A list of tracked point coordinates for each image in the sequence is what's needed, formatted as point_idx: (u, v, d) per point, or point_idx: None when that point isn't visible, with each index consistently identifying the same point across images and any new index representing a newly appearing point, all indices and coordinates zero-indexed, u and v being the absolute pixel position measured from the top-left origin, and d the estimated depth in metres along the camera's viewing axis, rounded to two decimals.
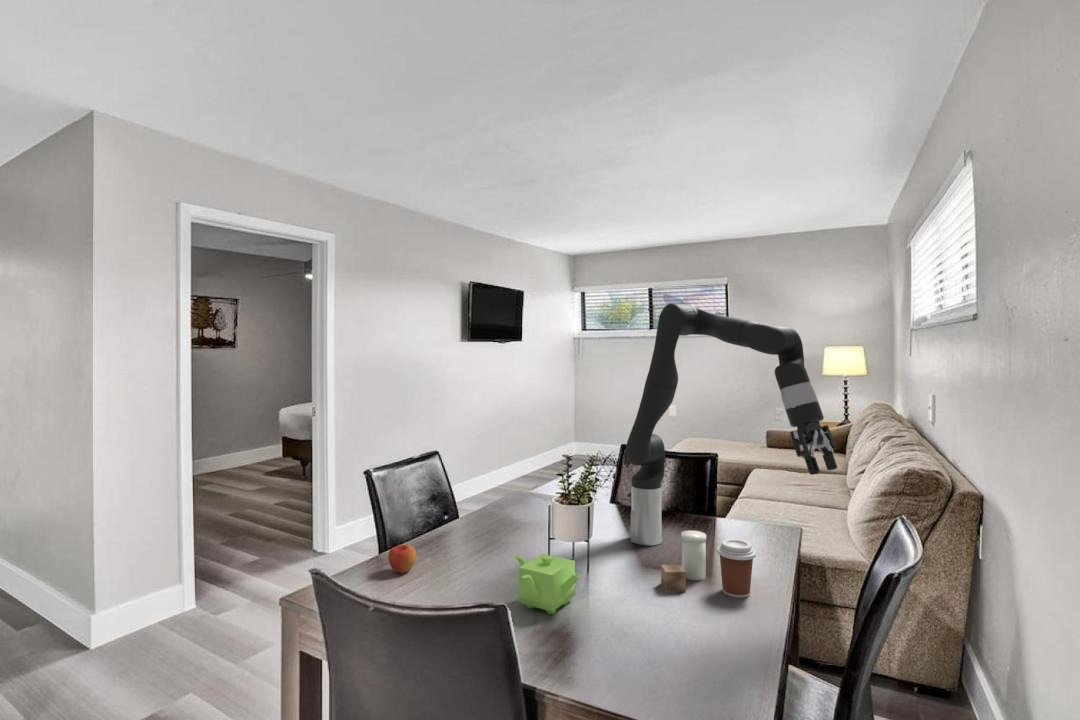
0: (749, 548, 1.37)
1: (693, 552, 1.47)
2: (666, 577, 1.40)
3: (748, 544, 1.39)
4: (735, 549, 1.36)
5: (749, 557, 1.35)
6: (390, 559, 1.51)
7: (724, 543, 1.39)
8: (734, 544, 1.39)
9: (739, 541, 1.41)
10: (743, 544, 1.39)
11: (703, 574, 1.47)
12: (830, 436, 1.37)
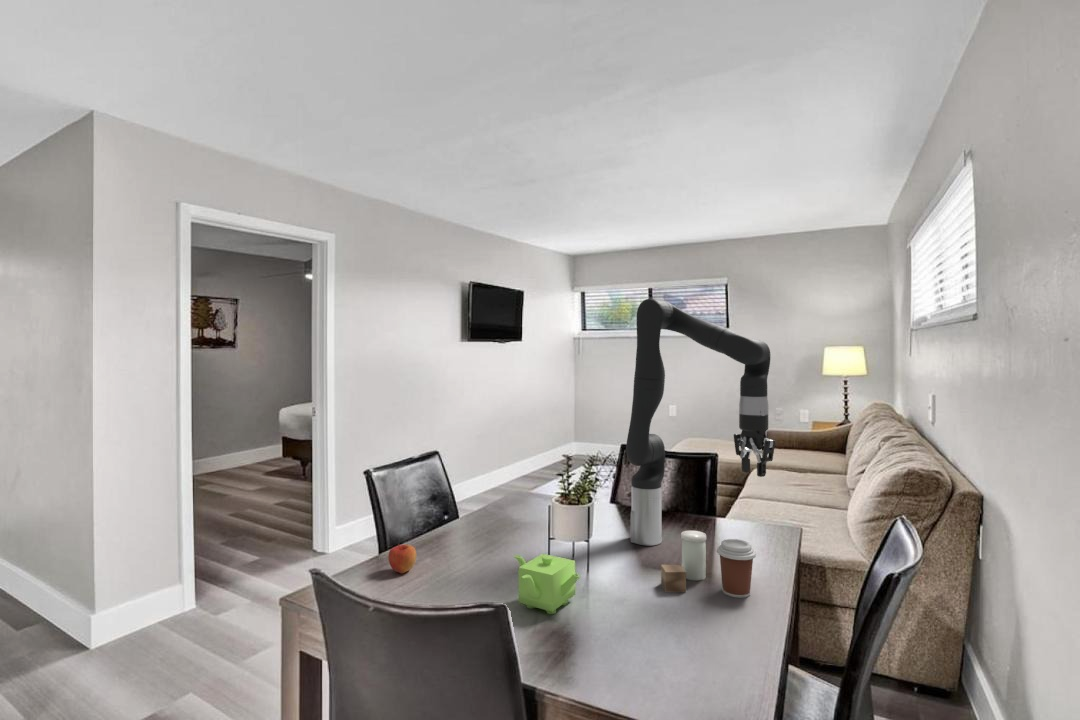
0: (749, 548, 1.37)
1: (693, 552, 1.47)
2: (666, 577, 1.40)
3: (748, 544, 1.39)
4: (735, 549, 1.36)
5: (749, 557, 1.35)
6: (390, 559, 1.51)
7: (724, 543, 1.39)
8: (734, 544, 1.39)
9: (739, 541, 1.41)
10: (743, 544, 1.39)
11: (703, 574, 1.47)
12: None
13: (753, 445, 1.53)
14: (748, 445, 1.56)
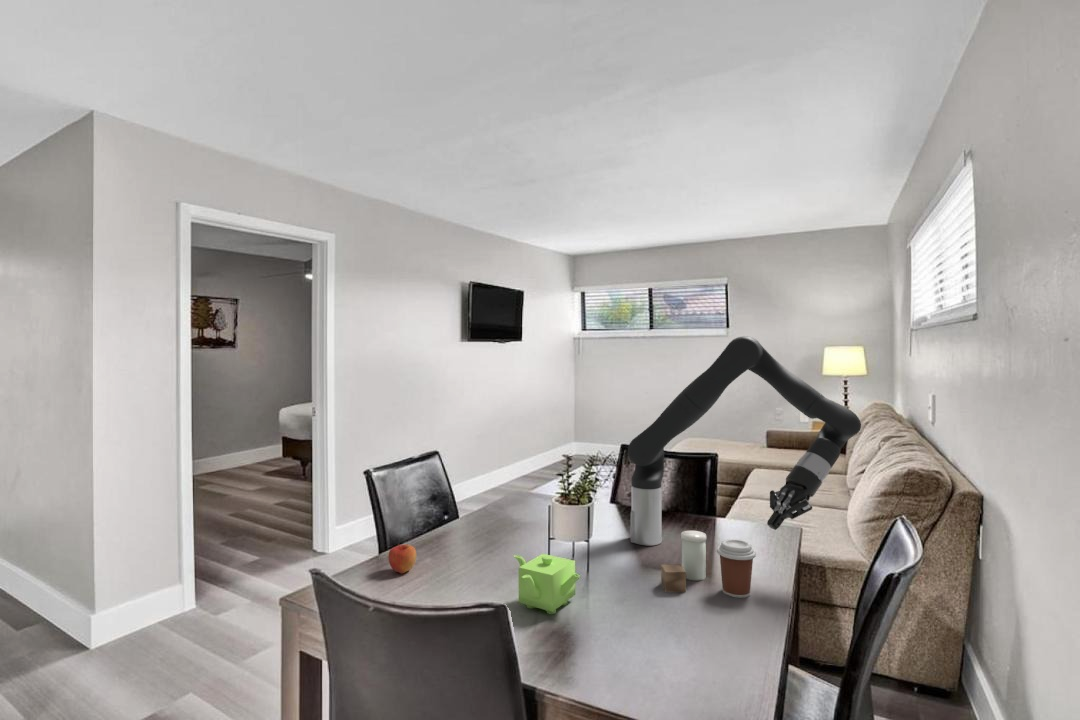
0: (749, 548, 1.37)
1: (693, 552, 1.47)
2: (666, 577, 1.40)
3: (748, 544, 1.39)
4: (735, 549, 1.36)
5: (749, 557, 1.35)
6: (390, 559, 1.51)
7: (724, 543, 1.39)
8: (734, 544, 1.39)
9: (739, 541, 1.41)
10: (743, 544, 1.39)
11: (703, 574, 1.47)
12: None
13: (789, 497, 1.43)
14: (784, 498, 1.45)
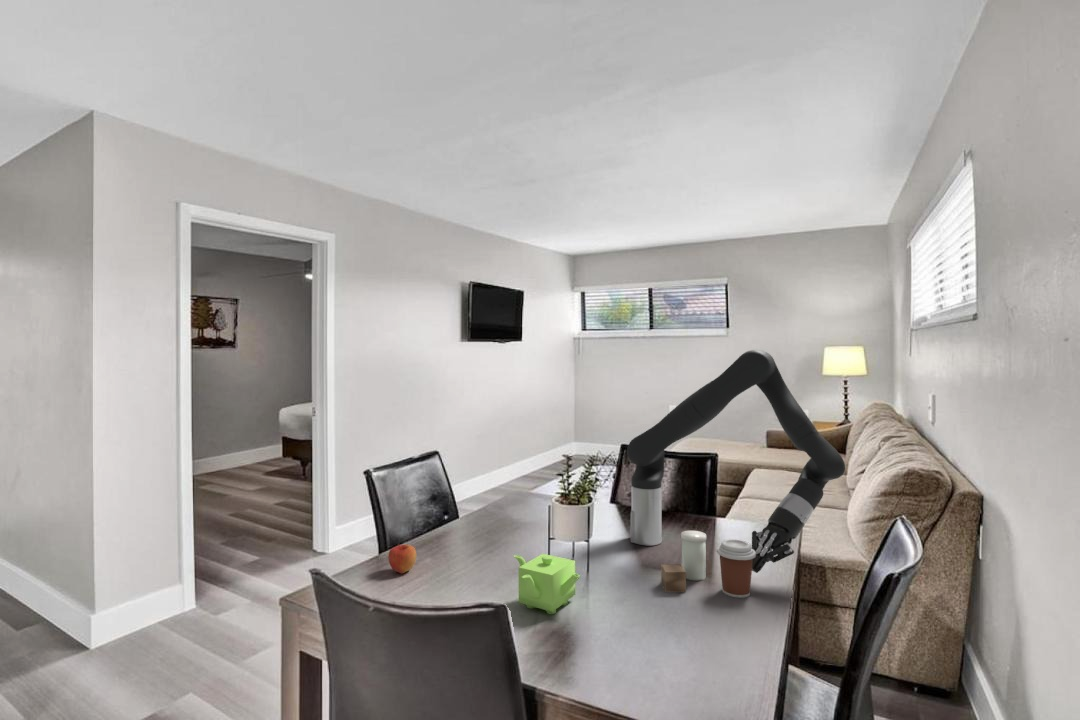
0: (749, 548, 1.37)
1: (693, 552, 1.47)
2: (666, 577, 1.40)
3: (748, 544, 1.38)
4: (735, 549, 1.36)
5: (749, 557, 1.35)
6: (390, 559, 1.51)
7: (724, 543, 1.39)
8: (734, 544, 1.39)
9: (739, 541, 1.41)
10: (743, 544, 1.39)
11: (703, 574, 1.47)
12: None
13: (771, 540, 1.42)
14: (766, 540, 1.44)
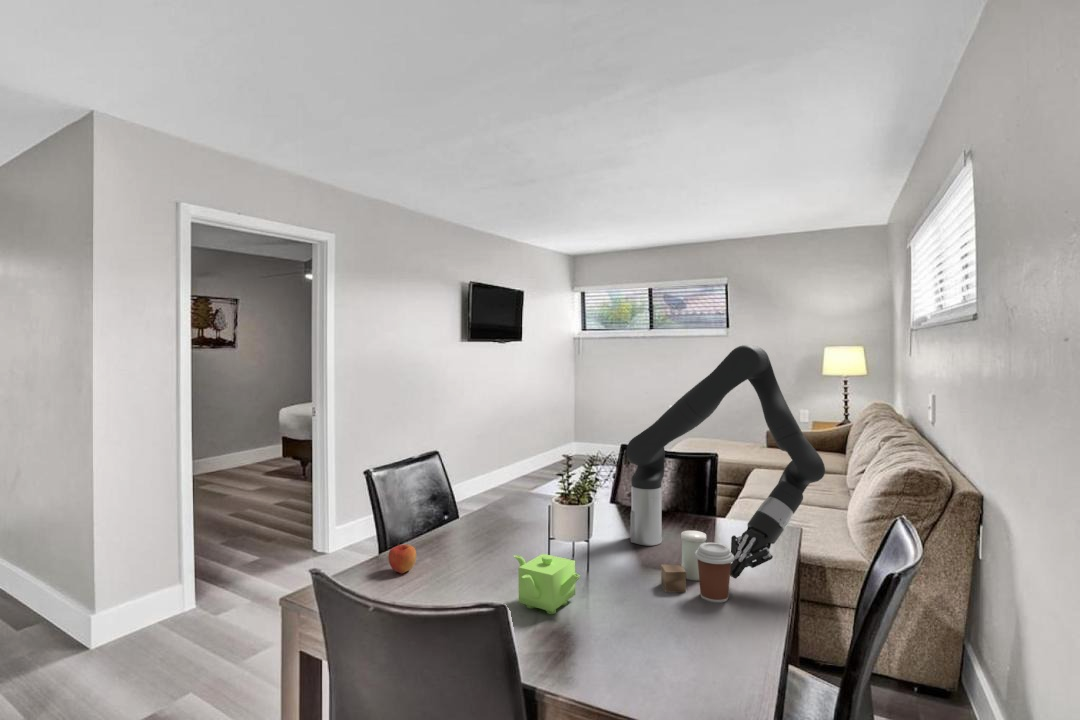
0: (727, 552, 1.34)
1: (693, 552, 1.47)
2: (666, 577, 1.40)
3: (726, 548, 1.36)
4: (713, 553, 1.33)
5: (727, 561, 1.33)
6: (390, 559, 1.51)
7: (702, 547, 1.37)
8: (712, 548, 1.37)
9: (717, 545, 1.39)
10: (721, 548, 1.37)
11: None
12: None
13: (750, 545, 1.39)
14: (745, 545, 1.41)
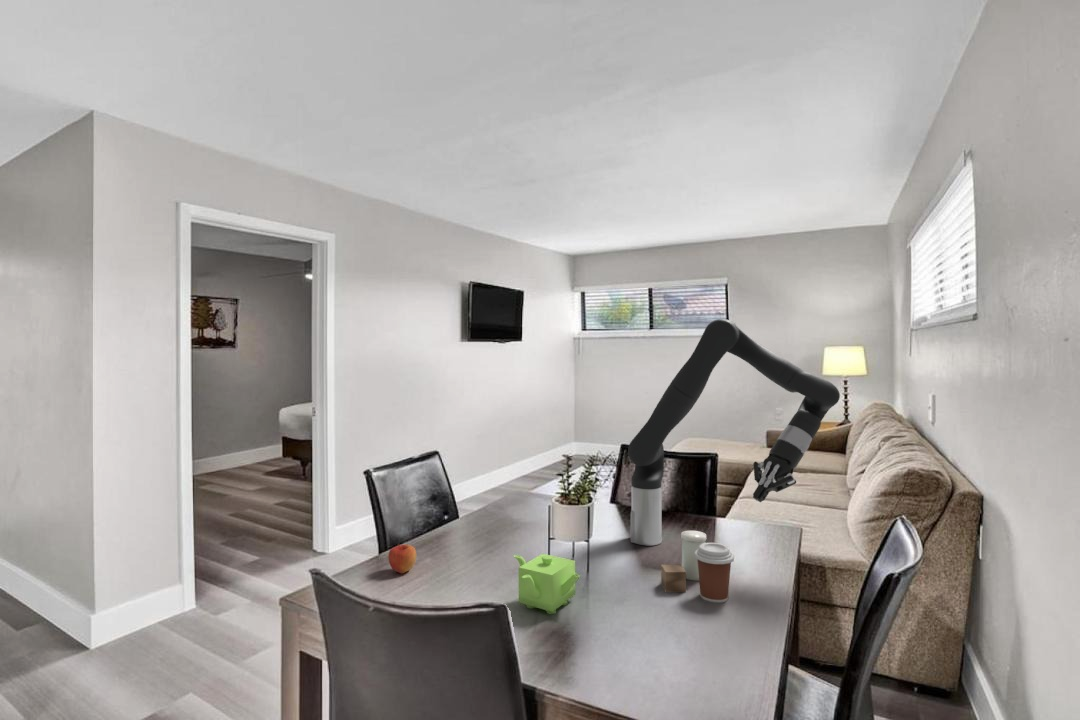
0: (727, 552, 1.34)
1: (693, 552, 1.47)
2: (666, 577, 1.40)
3: (726, 548, 1.36)
4: (712, 553, 1.33)
5: (727, 561, 1.33)
6: (390, 559, 1.51)
7: (702, 547, 1.37)
8: (712, 548, 1.37)
9: (717, 545, 1.39)
10: (721, 548, 1.37)
11: None
12: None
13: (774, 471, 1.49)
14: (768, 471, 1.51)
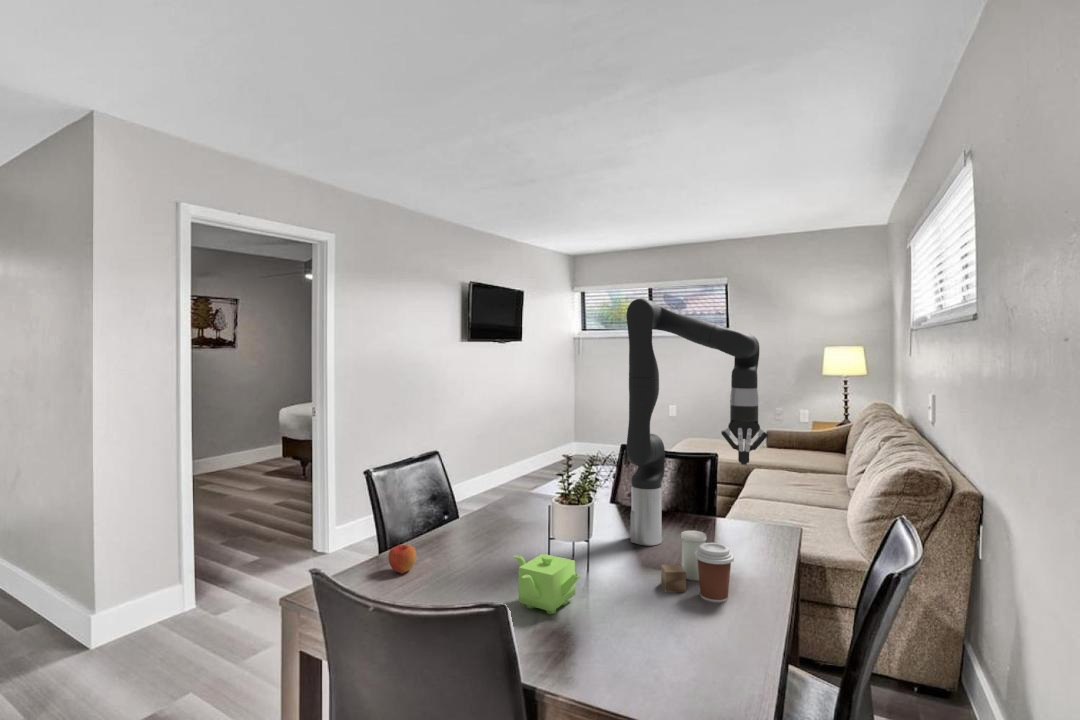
0: (727, 552, 1.34)
1: (693, 552, 1.47)
2: (666, 577, 1.40)
3: (726, 548, 1.36)
4: (712, 553, 1.33)
5: (727, 561, 1.33)
6: (390, 559, 1.51)
7: (702, 547, 1.37)
8: (712, 548, 1.37)
9: (717, 545, 1.39)
10: (721, 548, 1.37)
11: None
12: None
13: (749, 435, 1.60)
14: None
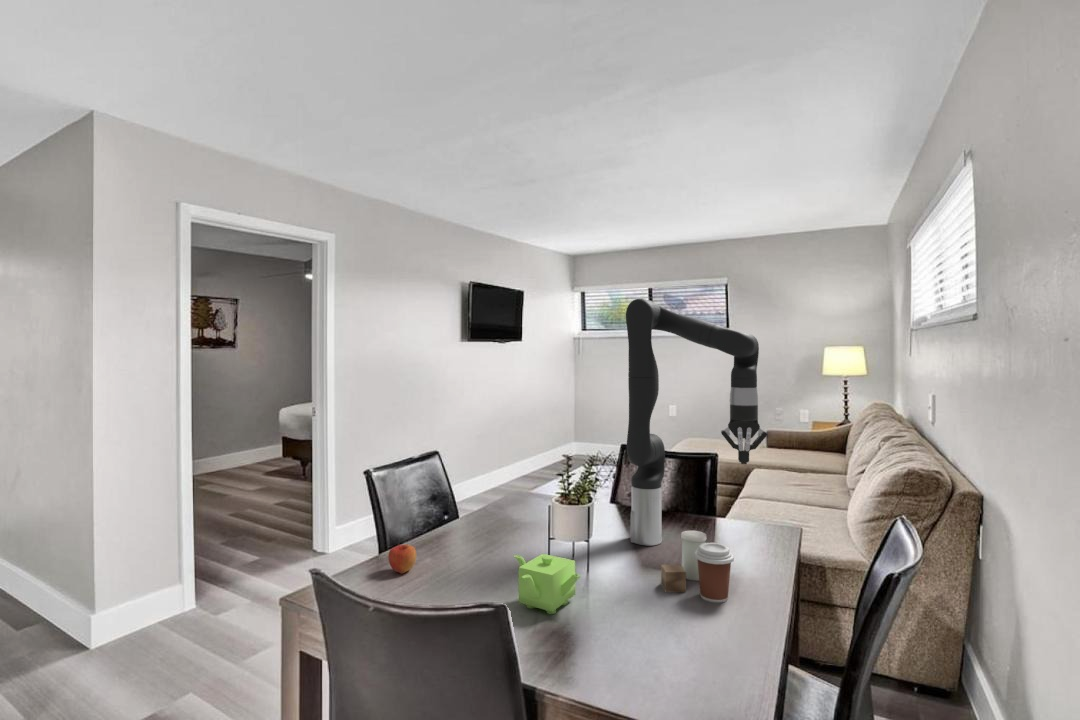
0: (727, 552, 1.34)
1: (693, 552, 1.47)
2: (666, 577, 1.40)
3: (726, 548, 1.36)
4: (712, 553, 1.33)
5: (727, 561, 1.33)
6: (390, 559, 1.51)
7: (702, 547, 1.37)
8: (712, 548, 1.37)
9: (717, 545, 1.39)
10: (721, 548, 1.37)
11: None
12: None
13: (748, 434, 1.60)
14: None
